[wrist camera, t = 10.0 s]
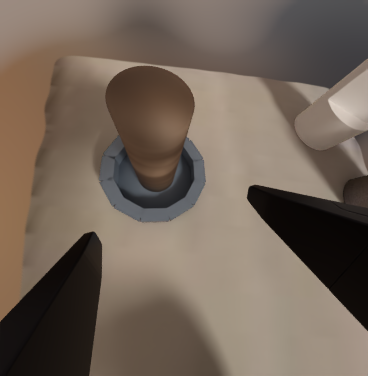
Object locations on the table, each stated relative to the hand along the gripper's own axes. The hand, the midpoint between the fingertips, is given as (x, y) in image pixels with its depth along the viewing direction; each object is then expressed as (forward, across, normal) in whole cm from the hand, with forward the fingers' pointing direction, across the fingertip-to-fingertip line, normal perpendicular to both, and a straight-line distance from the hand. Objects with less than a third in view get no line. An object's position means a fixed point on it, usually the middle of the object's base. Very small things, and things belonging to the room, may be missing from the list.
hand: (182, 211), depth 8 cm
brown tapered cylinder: (+13, 0, +3) cm, 13 cm away
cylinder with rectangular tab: (+15, -33, +2) cm, 36 cm away
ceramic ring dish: (+13, 0, +4) cm, 14 cm away
